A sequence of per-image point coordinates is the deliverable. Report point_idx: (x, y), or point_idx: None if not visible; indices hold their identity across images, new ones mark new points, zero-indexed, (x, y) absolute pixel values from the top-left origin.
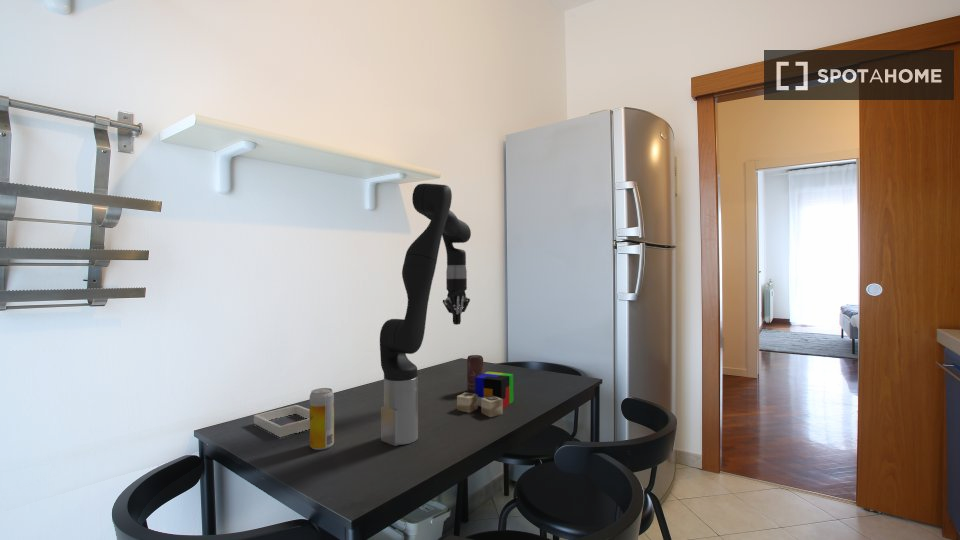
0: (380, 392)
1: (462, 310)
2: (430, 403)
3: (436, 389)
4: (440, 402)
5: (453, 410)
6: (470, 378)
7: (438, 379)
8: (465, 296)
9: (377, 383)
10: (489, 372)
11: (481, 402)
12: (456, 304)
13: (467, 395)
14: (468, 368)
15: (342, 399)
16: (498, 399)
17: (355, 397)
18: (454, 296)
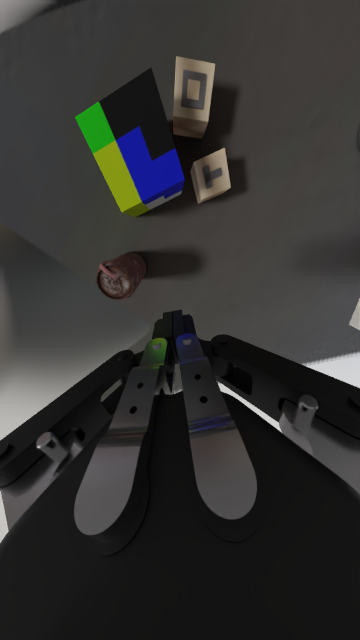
0: None
1: (134, 358)
2: (223, 263)
3: None
4: (210, 257)
5: (225, 200)
6: (141, 267)
7: None
8: (19, 519)
9: None
10: (124, 198)
11: (206, 126)
12: (216, 381)
13: (216, 169)
14: (139, 277)
15: (279, 347)
16: (186, 65)
17: (265, 345)
18: (281, 507)
